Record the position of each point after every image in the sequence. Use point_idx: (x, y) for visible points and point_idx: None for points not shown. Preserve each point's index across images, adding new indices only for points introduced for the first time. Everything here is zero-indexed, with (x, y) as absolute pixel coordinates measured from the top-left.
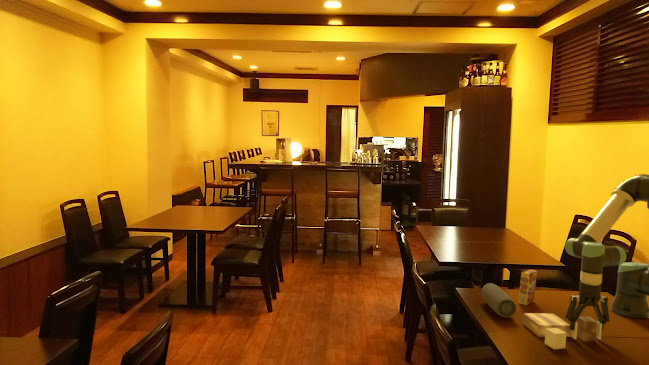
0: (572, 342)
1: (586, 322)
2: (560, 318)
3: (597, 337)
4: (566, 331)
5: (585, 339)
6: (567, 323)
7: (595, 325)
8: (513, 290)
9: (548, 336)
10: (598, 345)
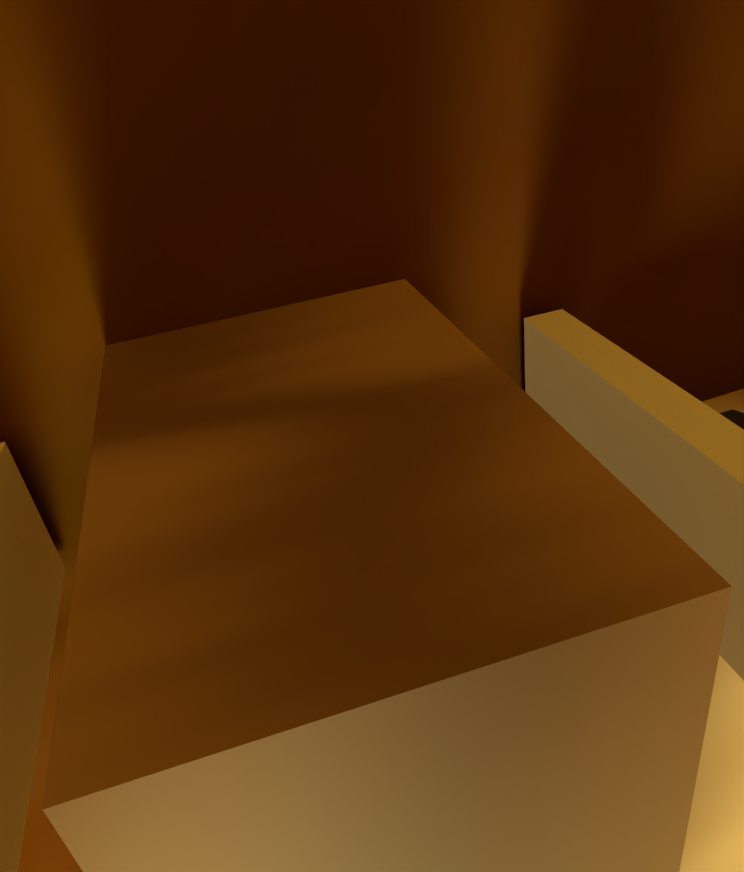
0: (662, 155)
1: (617, 581)
2: None
3: (23, 508)
4: None
5: (365, 307)
6: None
7: (144, 613)
8: None
9: None
10: (97, 90)
